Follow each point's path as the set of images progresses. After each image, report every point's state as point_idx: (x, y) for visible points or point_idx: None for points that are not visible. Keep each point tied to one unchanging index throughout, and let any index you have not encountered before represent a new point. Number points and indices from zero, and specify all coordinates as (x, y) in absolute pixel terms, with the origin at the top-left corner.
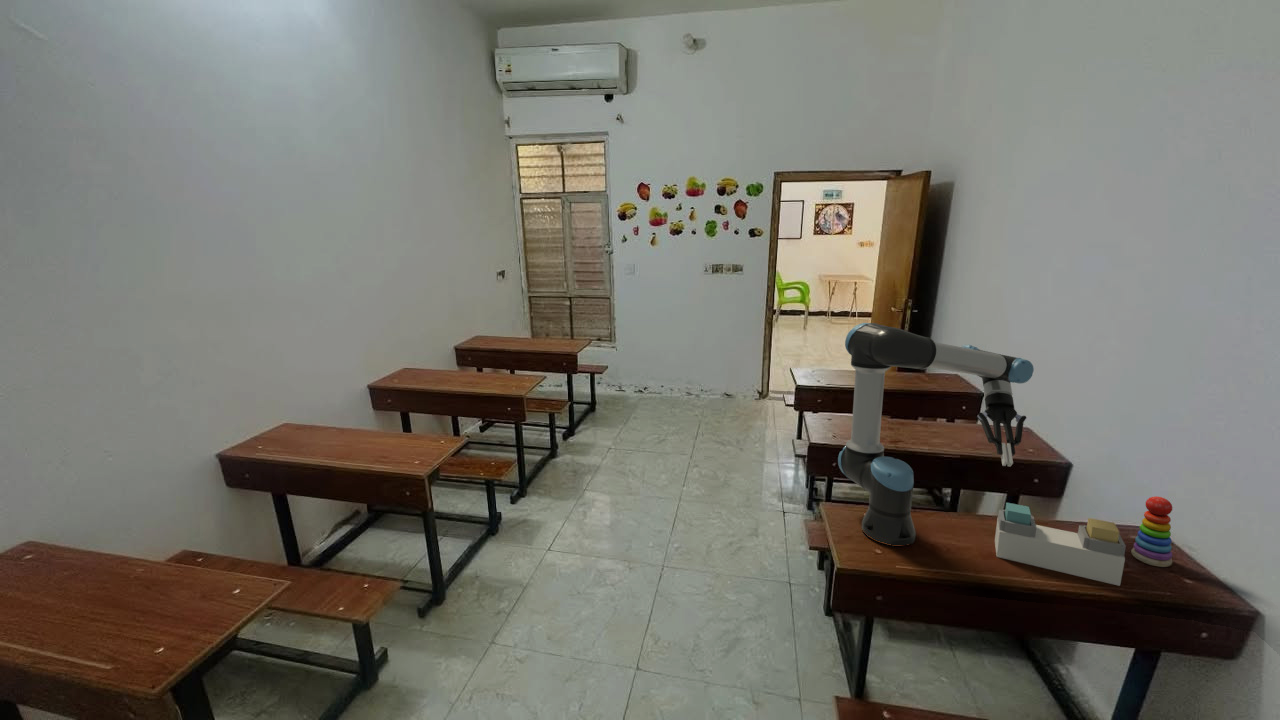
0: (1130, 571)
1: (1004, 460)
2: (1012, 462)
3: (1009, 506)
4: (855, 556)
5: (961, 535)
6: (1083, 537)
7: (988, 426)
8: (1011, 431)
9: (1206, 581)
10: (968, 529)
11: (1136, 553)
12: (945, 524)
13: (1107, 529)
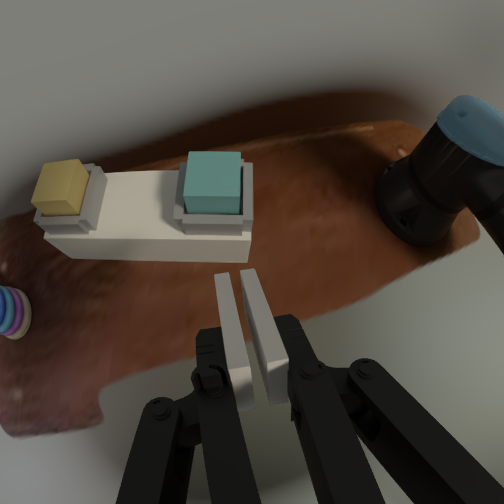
0: (51, 258)
1: (256, 276)
2: (216, 277)
3: (234, 174)
4: (414, 134)
5: (308, 256)
6: (99, 175)
7: (440, 455)
8: (218, 489)
9: None
10: (297, 291)
11: (25, 306)
12: (340, 291)
13: (57, 163)
